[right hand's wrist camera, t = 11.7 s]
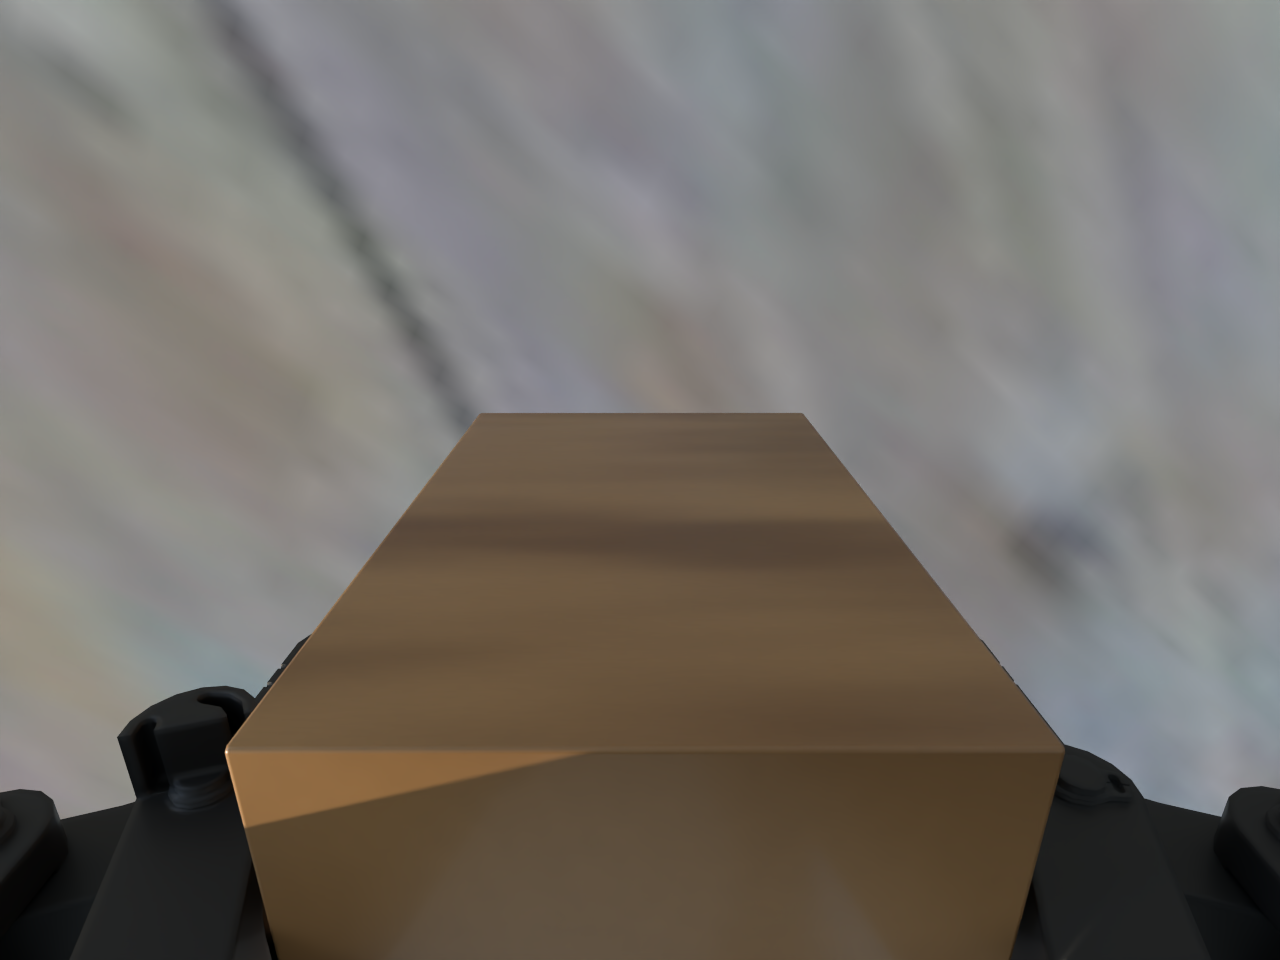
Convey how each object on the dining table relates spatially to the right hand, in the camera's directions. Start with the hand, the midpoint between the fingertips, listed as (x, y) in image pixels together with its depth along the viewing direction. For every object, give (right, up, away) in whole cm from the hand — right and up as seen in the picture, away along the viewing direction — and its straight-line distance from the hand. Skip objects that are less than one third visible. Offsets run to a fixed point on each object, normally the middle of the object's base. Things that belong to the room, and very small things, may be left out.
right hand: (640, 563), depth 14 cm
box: (0, -6, +3) cm, 7 cm away
